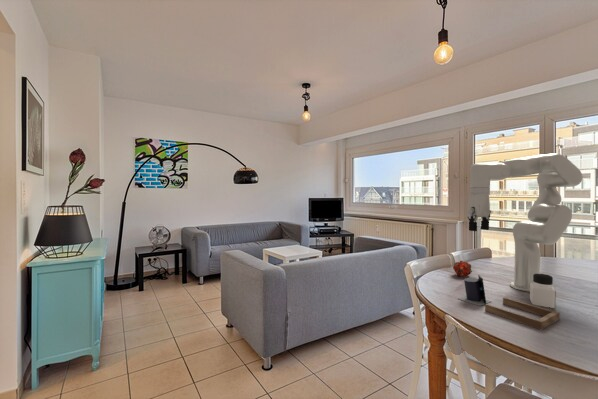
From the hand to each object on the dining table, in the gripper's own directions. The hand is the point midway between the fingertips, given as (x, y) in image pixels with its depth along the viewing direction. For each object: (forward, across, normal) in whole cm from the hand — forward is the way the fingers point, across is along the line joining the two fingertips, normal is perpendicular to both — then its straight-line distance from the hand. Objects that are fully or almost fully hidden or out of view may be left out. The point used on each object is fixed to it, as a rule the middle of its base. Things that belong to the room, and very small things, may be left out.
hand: (478, 230), depth 130 cm
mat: (+28, +10, +4) cm, 30 cm away
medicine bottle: (+28, -10, +20) cm, 36 cm away
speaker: (+28, +10, +4) cm, 30 cm away
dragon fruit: (+29, -21, -19) cm, 40 cm away
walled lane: (+28, +10, +20) cm, 36 cm away
